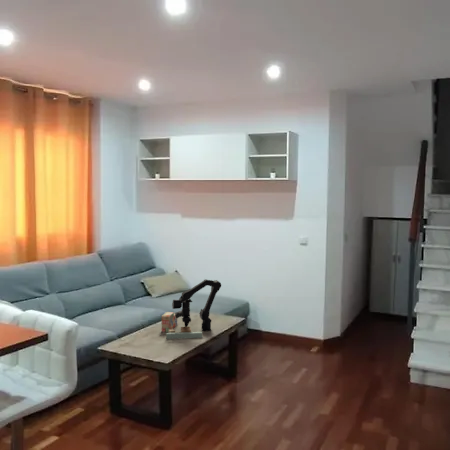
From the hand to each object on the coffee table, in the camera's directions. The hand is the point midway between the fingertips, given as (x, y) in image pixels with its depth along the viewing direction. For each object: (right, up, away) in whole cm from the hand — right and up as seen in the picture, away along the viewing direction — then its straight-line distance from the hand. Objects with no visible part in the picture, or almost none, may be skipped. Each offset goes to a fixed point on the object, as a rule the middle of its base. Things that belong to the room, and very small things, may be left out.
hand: (186, 328), depth 374 cm
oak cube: (-10, -3, -11) cm, 15 cm away
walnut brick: (+1, -3, -9) cm, 10 cm away
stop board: (0, -4, -16) cm, 16 cm away
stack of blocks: (-13, -2, +9) cm, 16 cm away
